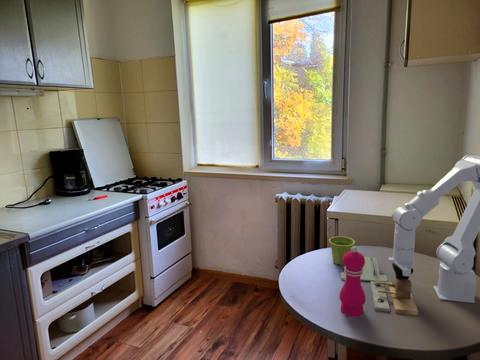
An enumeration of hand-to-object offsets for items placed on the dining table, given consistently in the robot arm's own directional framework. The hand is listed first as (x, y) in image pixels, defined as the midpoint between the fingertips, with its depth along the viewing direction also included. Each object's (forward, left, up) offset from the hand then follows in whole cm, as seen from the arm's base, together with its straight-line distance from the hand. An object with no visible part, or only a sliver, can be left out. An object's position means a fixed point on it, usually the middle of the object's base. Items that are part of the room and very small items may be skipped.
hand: (401, 287), depth 109 cm
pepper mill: (+15, +12, -3) cm, 20 cm away
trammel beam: (+2, +2, -3) cm, 4 cm away
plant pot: (+18, -22, -3) cm, 28 cm away
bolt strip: (+6, +2, -3) cm, 7 cm away
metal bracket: (+11, -13, -3) cm, 17 cm away
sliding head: (+2, +3, -1) cm, 4 cm away
